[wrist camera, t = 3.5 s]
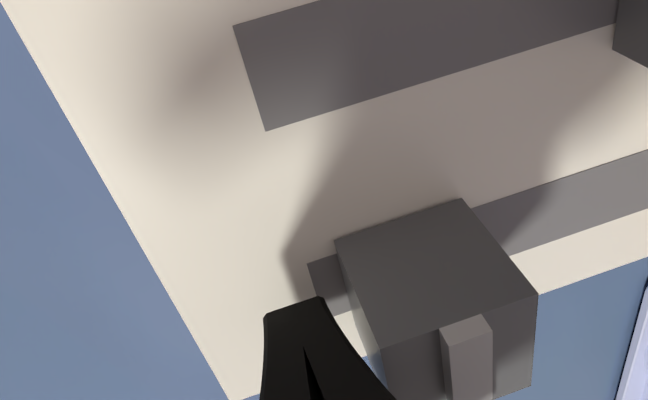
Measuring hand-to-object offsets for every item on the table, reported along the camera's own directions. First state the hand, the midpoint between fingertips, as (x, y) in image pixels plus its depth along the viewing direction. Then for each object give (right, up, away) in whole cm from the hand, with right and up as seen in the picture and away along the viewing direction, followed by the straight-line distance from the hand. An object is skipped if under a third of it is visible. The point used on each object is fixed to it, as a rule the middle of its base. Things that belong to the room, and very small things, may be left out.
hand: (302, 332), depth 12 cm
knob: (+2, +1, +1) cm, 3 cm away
